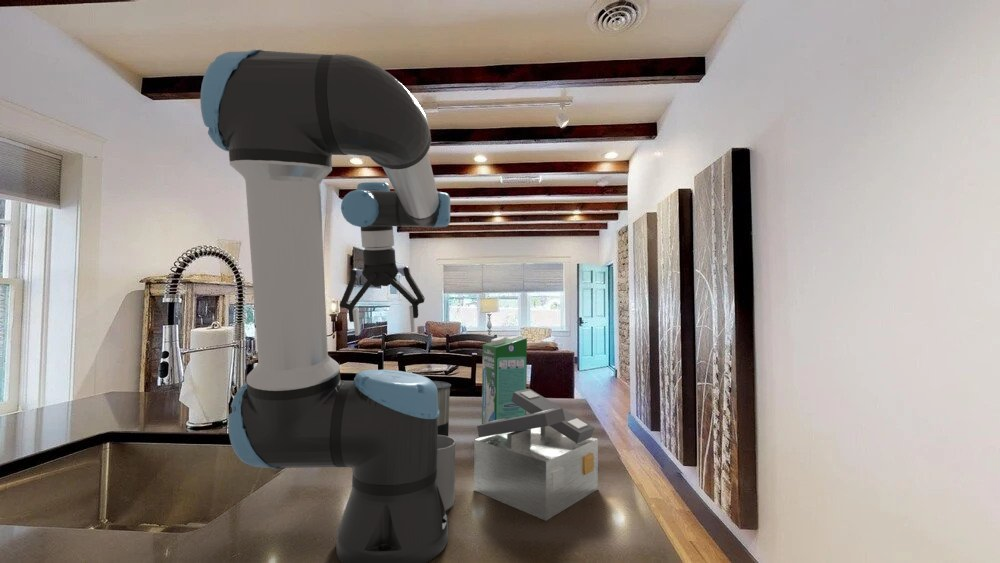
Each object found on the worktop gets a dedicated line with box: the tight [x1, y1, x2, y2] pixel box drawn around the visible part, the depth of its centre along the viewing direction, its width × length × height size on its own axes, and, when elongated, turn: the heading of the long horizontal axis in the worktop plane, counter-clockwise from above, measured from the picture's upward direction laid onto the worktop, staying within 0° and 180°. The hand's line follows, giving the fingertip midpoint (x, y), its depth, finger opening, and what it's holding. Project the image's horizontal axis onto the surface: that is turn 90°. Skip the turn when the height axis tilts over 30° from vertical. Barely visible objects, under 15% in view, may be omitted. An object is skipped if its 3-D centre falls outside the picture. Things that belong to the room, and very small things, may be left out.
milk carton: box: [481, 335, 528, 425], centre depth 115 cm, size 9×9×25 cm
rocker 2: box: [511, 388, 595, 443], centre depth 82 cm, size 5×16×2 cm, turn 48°
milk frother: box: [432, 380, 452, 437], centre depth 99 cm, size 14×16×15 cm
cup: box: [437, 435, 457, 512], centre depth 72 cm, size 8×8×10 cm
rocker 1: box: [476, 407, 565, 438], centre depth 75 cm, size 5×16×2 cm, turn 48°
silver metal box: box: [473, 426, 599, 522], centre depth 78 cm, size 16×16×11 cm
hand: (385, 332), depth 108 cm, fingers open, 13 cm apart
